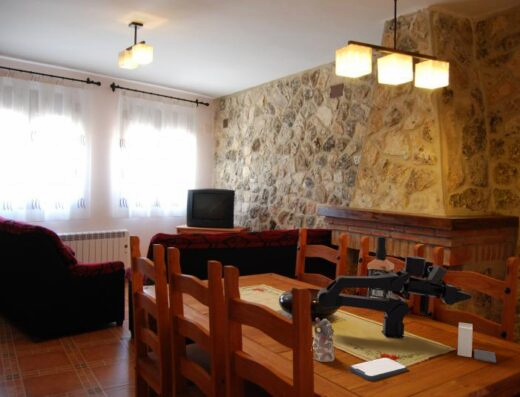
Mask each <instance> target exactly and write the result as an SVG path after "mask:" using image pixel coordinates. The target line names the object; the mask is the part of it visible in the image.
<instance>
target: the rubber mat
mask: <svg viewBox="0 0 520 397" xmlns="http://www.w3.org/2000/svg"><path fill="white" fill-rule="evenodd" d="M473 353H474V354H473V356H474V358H473V359H474V360H479V361H485V362H489V363H497V358H496V352H495V351H494V352H493V351H488V350H481V349H475V348H474V349H473Z"/></svg>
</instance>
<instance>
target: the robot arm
mask: <svg viewBox="0 0 520 397" xmlns="http://www.w3.org/2000/svg"><path fill="white" fill-rule="evenodd" d="M426 260H427V258H424V257H421V256H415V255H413V256H411V255H410V256H407V255H406V256H405V260H404V261H405V263H404V268H403V269H400V270H399V271H396V272H393V273H388V274H382V275H379V276H368V275H367V276H364V275H361V276H360V275H339V276H337V277H336V278H335V279H334V280H333V281H332V282H331V283H329V284H328V285H327V286H326V287H324V288H321V289H319V291H318V292H317V302H318V304H319V305H320V307H321V308H323V309H335V308H339V307H349V308H356V309H357V308H359V309H365V310H372V311H373V310H375V311H380V312H383V315H384V316H383V318H382V319H383V320H382V330H381V333H382V335H383V336H384V337H385V338H387V339H388V338H389V339H405V336H404V335H405V323H404V319H405V317H406V316H407V315H408V314H409V312H410V306H409V304H408V303H407V301H405V299H407V298H408V297H409V294H414V295H420V296H424V297H426V298H428V297H431V298H432V297H433V298H436V299H438V300H440V299H441V301H442V302H443V303H445V305H449V306H453V305H455V304H458V303H461V302H464V301H467V300H471V299H472V295H471V294H468V293H466V292H462V289H461V288H457V287H456V286H455V285H451V284H447V282H445V280H443V279H444V277H445V275H446V274H447V272H448V270H447V269H445V268H444V267H442V266H440V265H438V264H434V265H429V266H428V268H427V269H426V270H427V271H428V272H429V273H428V277H424V278H420V277H423V275H424V274H425V268H426V267H425V266H426ZM346 288H347V289H348V288H349V289H354V288H355V289H359V288H360V289H367V288H380V289H383V290H387V291H392V293H393V292H395V293H398V292H399V293H400V294H401V295H402V296H403V297H404V298H405V299H404V298H403V297H400V296H399V295H398V294H394V295H393V294H392V295H390V294H386V297H387V298H381V299H380V298H372V297H367V296H362V295H352V294H343V293H342V292H343V290H344V289H346Z"/></svg>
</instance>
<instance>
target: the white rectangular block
mask: <svg viewBox="0 0 520 397" xmlns="http://www.w3.org/2000/svg"><path fill="white" fill-rule="evenodd" d="M472 350H473V323H469V322H468V323H466V322H458V334H457V356H462V357H466V358H467V357H468V358H472V352H473V351H472Z"/></svg>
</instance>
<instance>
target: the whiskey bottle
mask: <svg viewBox="0 0 520 397" xmlns="http://www.w3.org/2000/svg"><path fill="white" fill-rule="evenodd" d="M376 239H377V241H376V251H375V258H374V259H373V260H371V261H370V262H368V263H367V265H366V266H367V269H368V271H367V276H379V275H382V274H388V273H394V269H395V264H394V263H393V262H391V260H388V259H387V254H388V253H387V248H386V246H387V245H386V244H387V242H386V241H387V237H386V236H382V235H381V236H377V238H376ZM386 294H390V295H393V291H387V290H383V289H380V288H366V297H372V298H380V299H381V298H387V297H386Z"/></svg>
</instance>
